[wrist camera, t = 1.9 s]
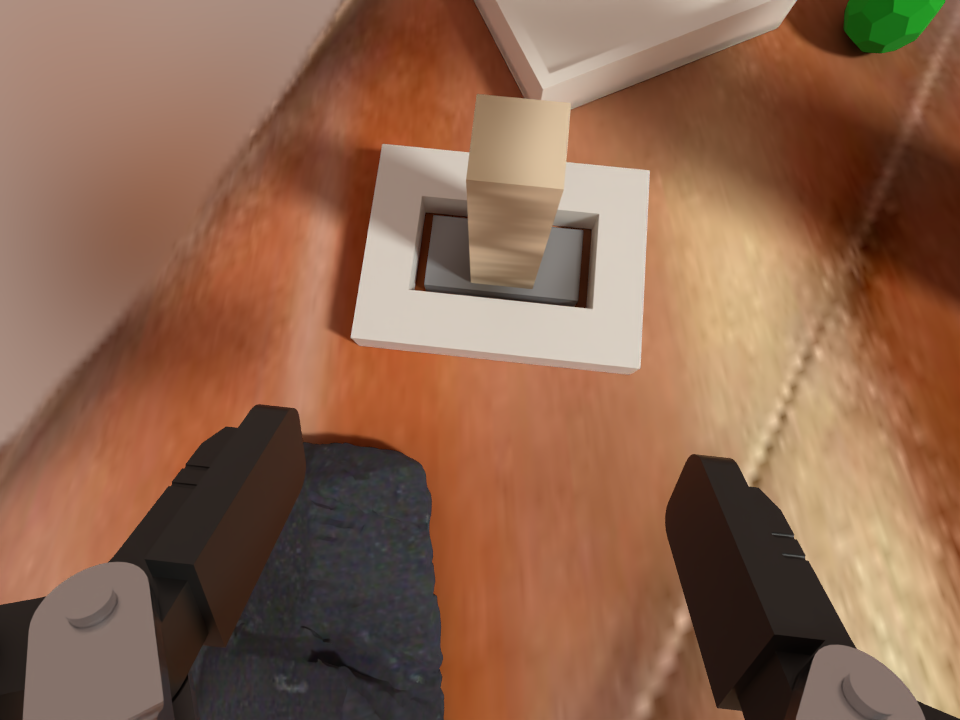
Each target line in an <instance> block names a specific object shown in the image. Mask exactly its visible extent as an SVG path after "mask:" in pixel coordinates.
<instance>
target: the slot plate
mask: <svg viewBox="0 0 960 720" xmlns="http://www.w3.org/2000/svg"><path fill="white" fill-rule="evenodd" d="M468 160H469V152H459V151H449V150H439V149H429V148H419V147H409V146H399V145H389V144H382V149H381V155H380V161H379V167H378V173H377V180H376V186H375V192H374V198H373V204H372V210H371V216H370V222H369V228H368V235H367V241H366V247H365V253H364V259H363V265H362V271H361V277H360V283H359V290H358V296H357V302H356V308H355V314H354V320H353V326H352V332H351V338H352V339H353V340H354V341H355V342H356V343H357V344H358V345H359V346H367V347H376V348H385V349H395V350H404V351H413V352H423V353H432V354H441V355H451V356H460V357H469V358H479V359H488V360H497V361H507V362H516V363H525V364H535V365H544V366H553V367H562V368H572V369H581V370H590V371H600V372H609V373H618V374H628V375H630V374H632V373H633V372H635V371H637V370H639V369H640V364H641V344H642V323H643V302H644V281H645V260H646V239H647V218H648V197H649V176H650V170H640V169H630V168H620V167H610V166H600V165H590V164H580V163H570V162H566V170H565V182H564V190H563V194H562V197H561V200H560V203H559V206H558V210H557V213H556V216H555V219H554V222H553V225H555V226H565V227H575V228H584V229H592V232H591V246H590V260H589V274H588V289H587V303H586V308H578V307H568V306H559V305H549V304H540V303H530V302H521V301H511V300H502V299H492V298H483V297H473V296H463V295H454V294H444V293H435V292H425V291H416V290H415V284H416V277H417V269H418V262H419V255H420V248H421V241H422V234H423V227H424V220H425V213H426V212H427V213H437V214H447V215H457V216H467V217H468V210H467V189H466V176H467V168H468Z"/></svg>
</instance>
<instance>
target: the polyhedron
mask: <svg viewBox="0 0 960 720" xmlns="http://www.w3.org/2000/svg"><path fill="white" fill-rule="evenodd" d="M944 3H945V0H849V2H848V4H847V6H846V9H845V15H844V31H845V32H846V34H847V35H848V36H849V37H850V38H851V40H852V41H853V42H854V43H855V44H856V45H857V46H858V48H859V49H860V50H861V51H862V52H869V53H885V52H890V51H895V50H897V49H899V48H901V47H903V46H905V45H907V44H909V43H911V42H913V41H915V40H916V39H917V38H918V37H919V35H920V34H921V33H922V32H923V31H924V29H925V28H926V27H927V26H928V24H929V23H930V22H931V20H932V19H933V18H934V17H935V15H936V14H937V13H938V11H939V10H940V9H941V7H942V6H943V4H944Z"/></svg>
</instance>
